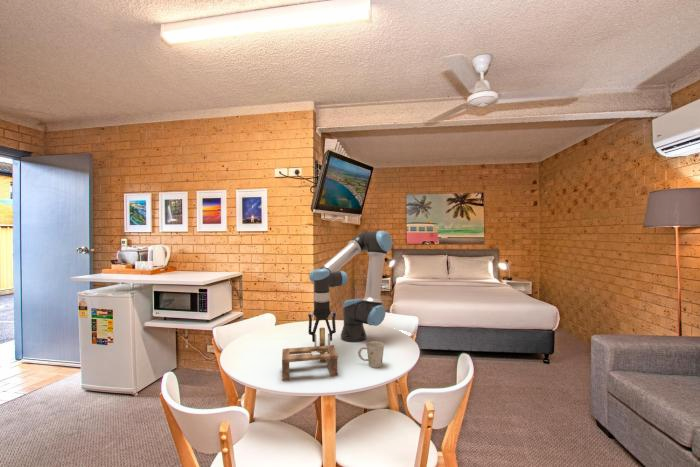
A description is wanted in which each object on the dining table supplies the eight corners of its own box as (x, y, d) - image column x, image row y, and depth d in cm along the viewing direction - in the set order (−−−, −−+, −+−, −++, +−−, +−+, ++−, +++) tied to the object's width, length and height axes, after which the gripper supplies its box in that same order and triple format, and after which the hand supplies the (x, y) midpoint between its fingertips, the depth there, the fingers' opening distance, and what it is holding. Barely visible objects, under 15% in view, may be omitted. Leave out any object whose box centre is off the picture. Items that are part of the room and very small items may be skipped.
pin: (327, 358, 163) (327, 326, 163) (329, 362, 157) (328, 329, 157) (315, 359, 162) (315, 326, 162) (316, 363, 156) (316, 330, 156)
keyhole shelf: (333, 363, 155) (333, 345, 156) (338, 376, 142) (338, 355, 142) (282, 368, 151) (282, 348, 151) (282, 381, 137) (282, 359, 137)
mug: (383, 369, 148) (383, 347, 148) (356, 367, 151) (356, 345, 151) (385, 362, 156) (384, 341, 157) (359, 360, 159) (359, 340, 159)
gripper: (339, 298, 165) (340, 344, 165) (302, 300, 162) (302, 346, 161) (342, 301, 158) (342, 349, 158) (302, 303, 154) (303, 352, 154)
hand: (322, 347), depth 159 cm, fingers closed on pin, 6 cm apart
